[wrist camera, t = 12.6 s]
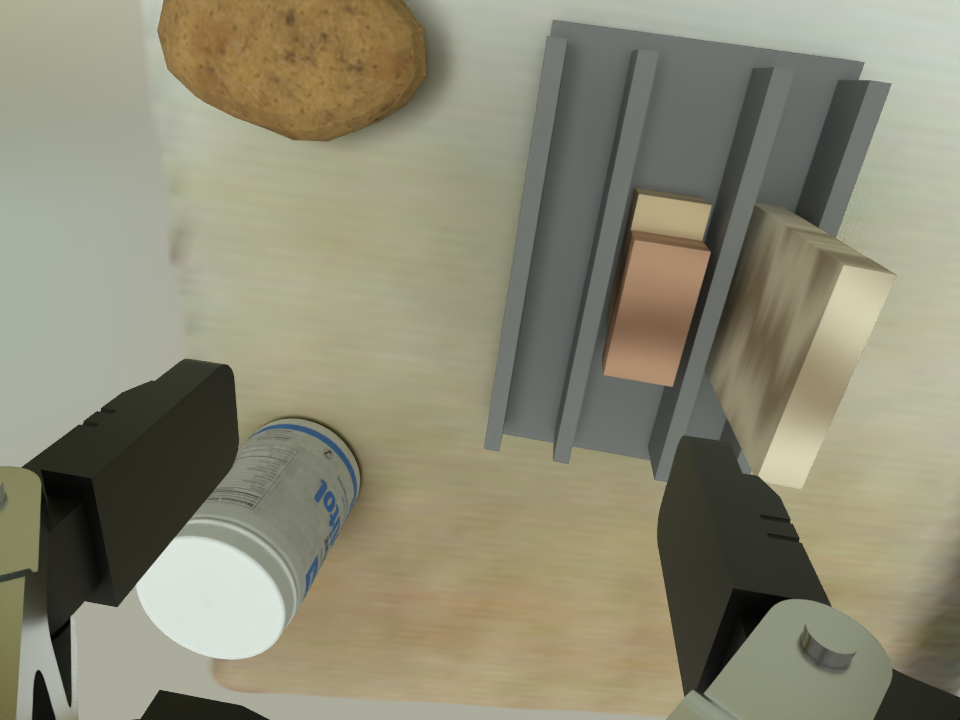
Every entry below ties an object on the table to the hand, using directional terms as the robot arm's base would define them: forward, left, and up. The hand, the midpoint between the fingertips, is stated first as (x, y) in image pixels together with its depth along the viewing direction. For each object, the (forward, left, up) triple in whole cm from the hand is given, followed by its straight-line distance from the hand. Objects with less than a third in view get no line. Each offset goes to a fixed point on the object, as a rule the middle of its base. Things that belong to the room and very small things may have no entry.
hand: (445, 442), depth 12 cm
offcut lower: (+3, +8, -30) cm, 31 cm away
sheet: (+4, +13, -30) cm, 33 cm away
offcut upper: (+5, +8, -27) cm, 29 cm away
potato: (-6, -13, -32) cm, 35 cm away
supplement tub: (+24, -14, -32) cm, 42 cm away
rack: (+4, +8, -31) cm, 32 cm away
